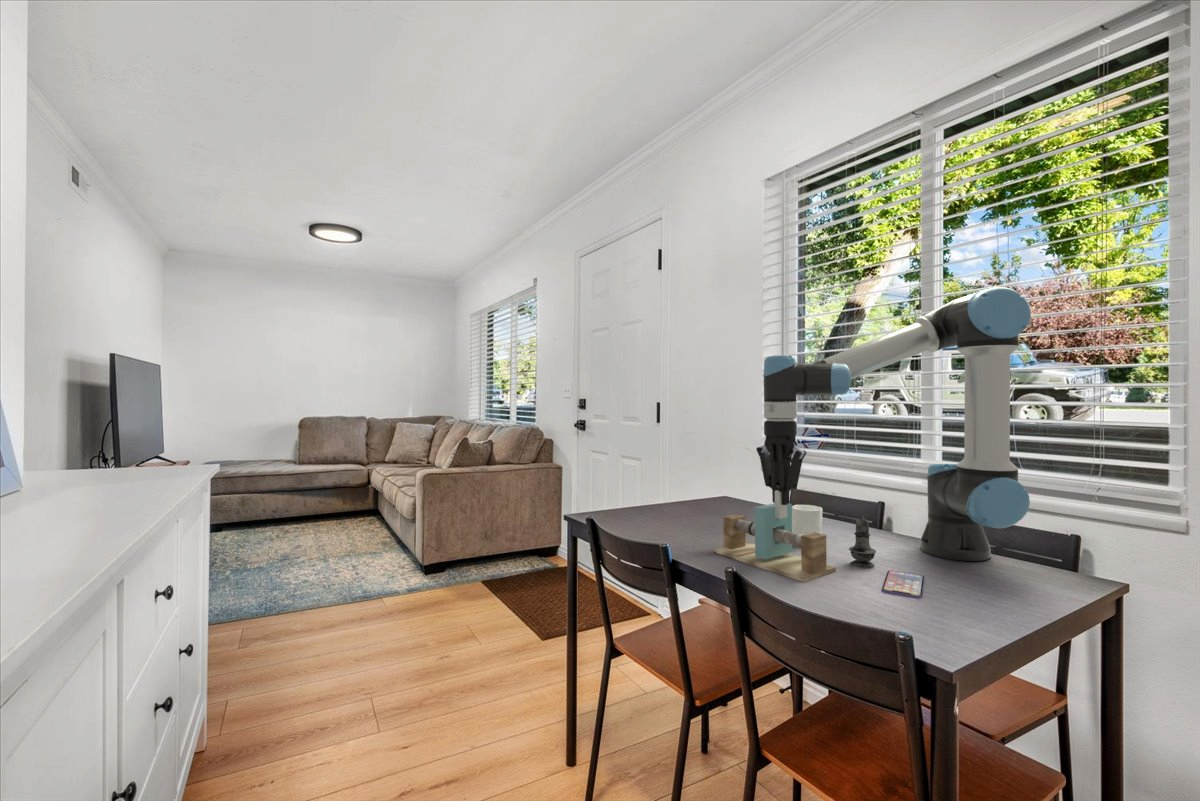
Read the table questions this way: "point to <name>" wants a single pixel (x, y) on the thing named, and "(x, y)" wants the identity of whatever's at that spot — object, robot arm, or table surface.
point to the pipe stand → (787, 564)
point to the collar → (770, 531)
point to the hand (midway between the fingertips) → (781, 517)
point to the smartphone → (903, 584)
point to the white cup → (807, 519)
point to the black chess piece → (862, 545)
